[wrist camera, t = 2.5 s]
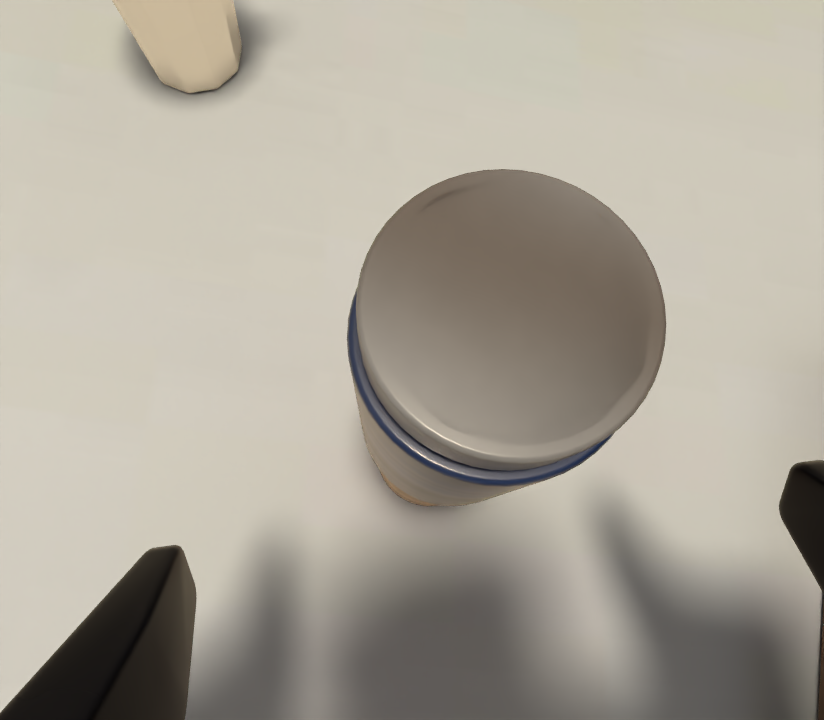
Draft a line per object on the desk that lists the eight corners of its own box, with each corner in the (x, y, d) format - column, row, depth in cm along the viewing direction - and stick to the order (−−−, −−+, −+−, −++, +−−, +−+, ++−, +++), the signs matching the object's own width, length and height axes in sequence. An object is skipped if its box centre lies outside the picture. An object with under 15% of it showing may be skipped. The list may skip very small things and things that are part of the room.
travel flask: (476, 528, 18) (660, 518, 6) (354, 497, 18) (299, 428, 6) (500, 408, 19) (699, 197, 7) (385, 380, 19) (388, 123, 7)
